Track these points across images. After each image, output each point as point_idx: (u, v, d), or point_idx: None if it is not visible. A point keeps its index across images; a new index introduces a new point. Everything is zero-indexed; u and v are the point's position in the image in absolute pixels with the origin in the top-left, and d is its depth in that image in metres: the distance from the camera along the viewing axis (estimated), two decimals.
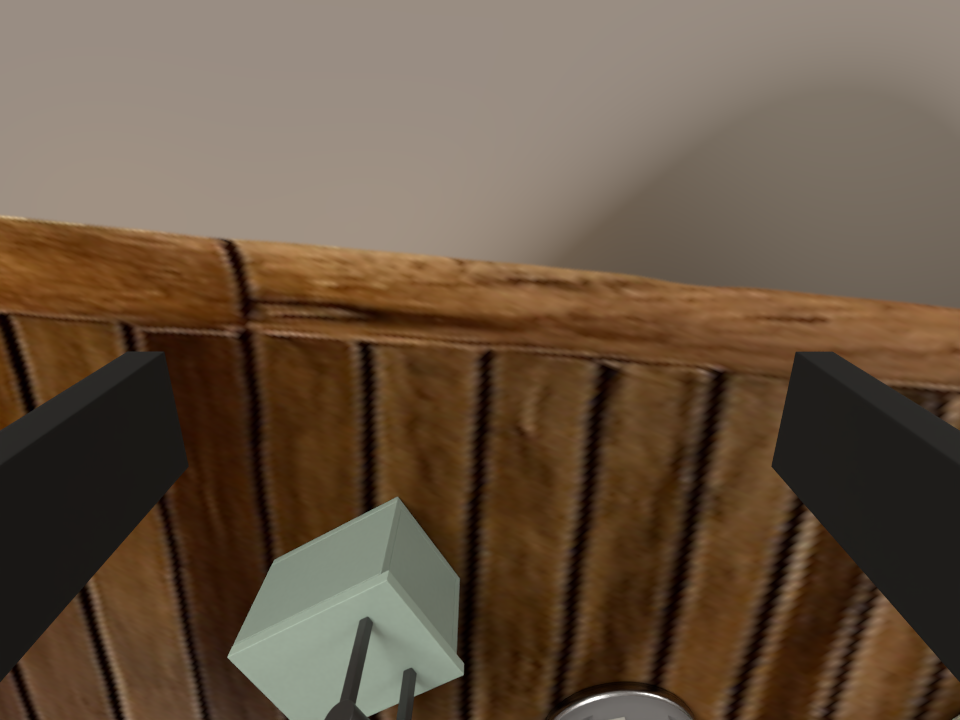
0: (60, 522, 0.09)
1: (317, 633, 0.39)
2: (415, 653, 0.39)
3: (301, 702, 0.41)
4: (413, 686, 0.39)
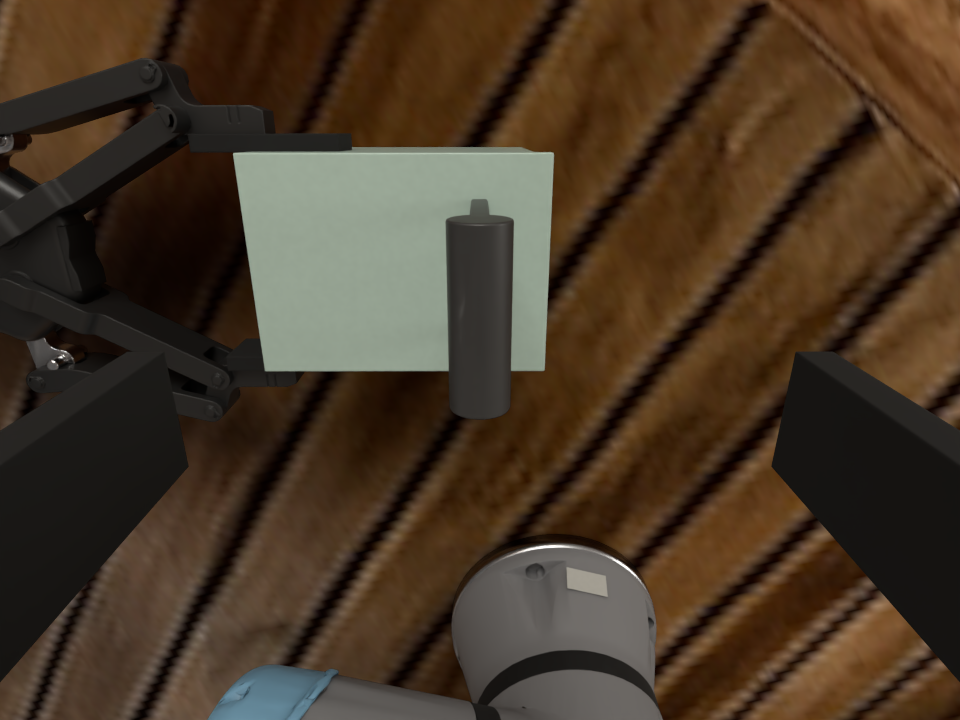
0: (59, 522, 0.09)
1: (397, 189, 0.24)
2: None
3: (294, 297, 0.26)
4: None
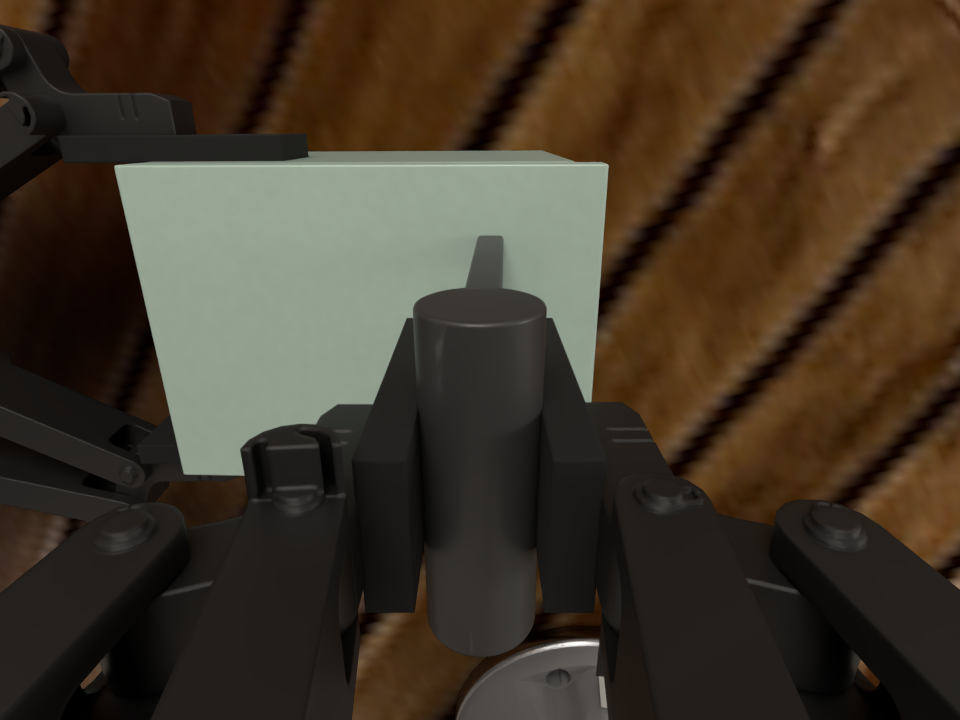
0: None
1: (364, 220, 0.16)
2: None
3: (218, 375, 0.18)
4: None
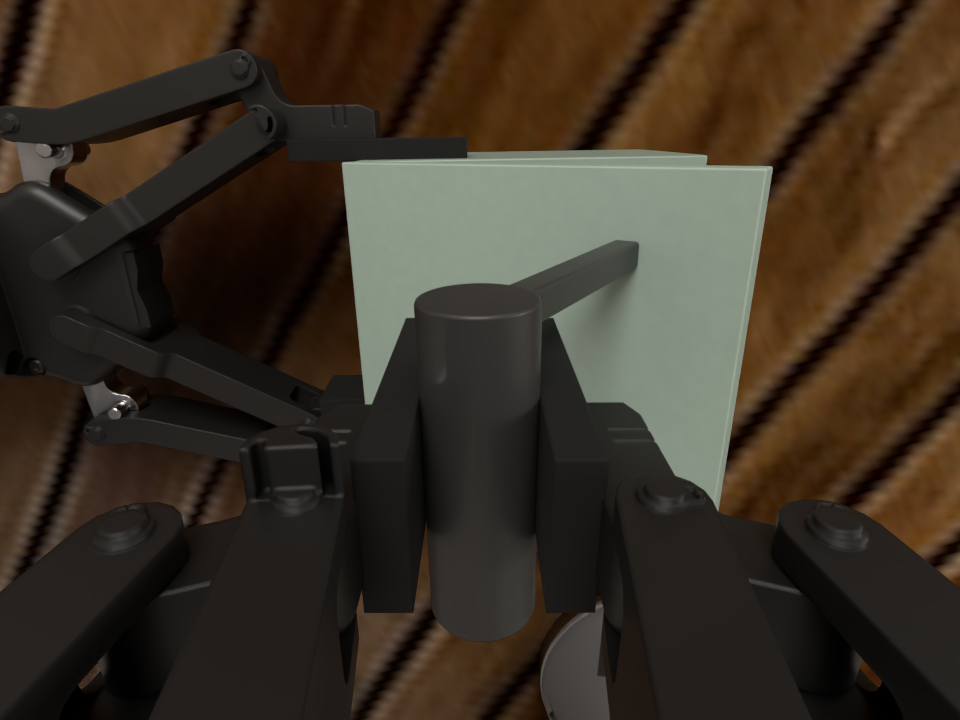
0: None
1: (512, 217, 0.17)
2: (657, 404, 0.16)
3: (394, 341, 0.21)
4: None
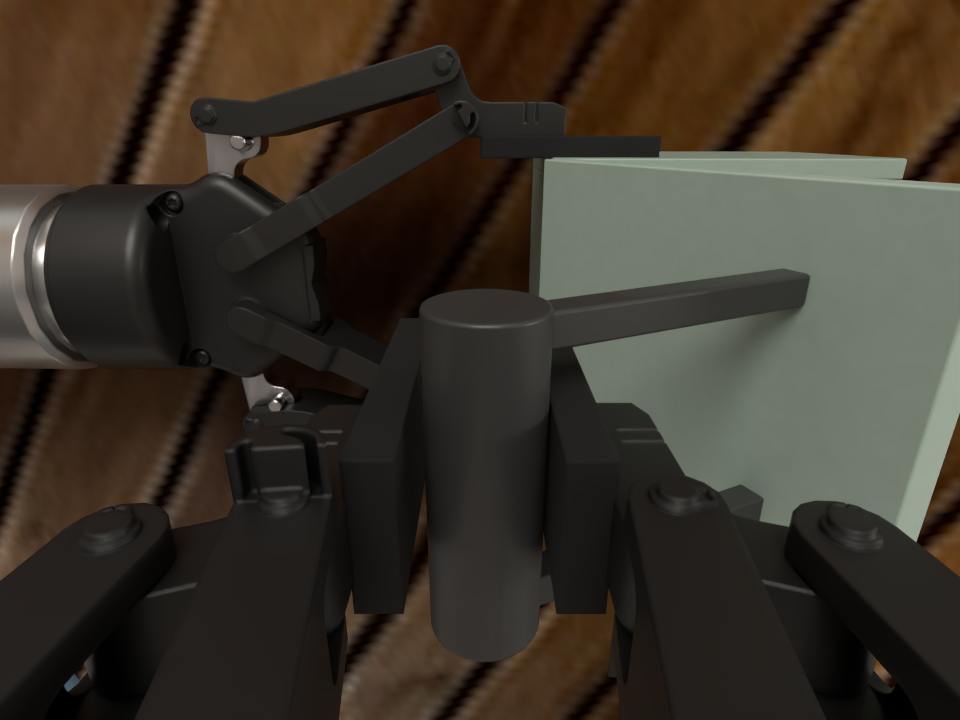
0: (417, 446, 0.11)
1: (679, 227, 0.15)
2: (806, 484, 0.12)
3: None
4: None
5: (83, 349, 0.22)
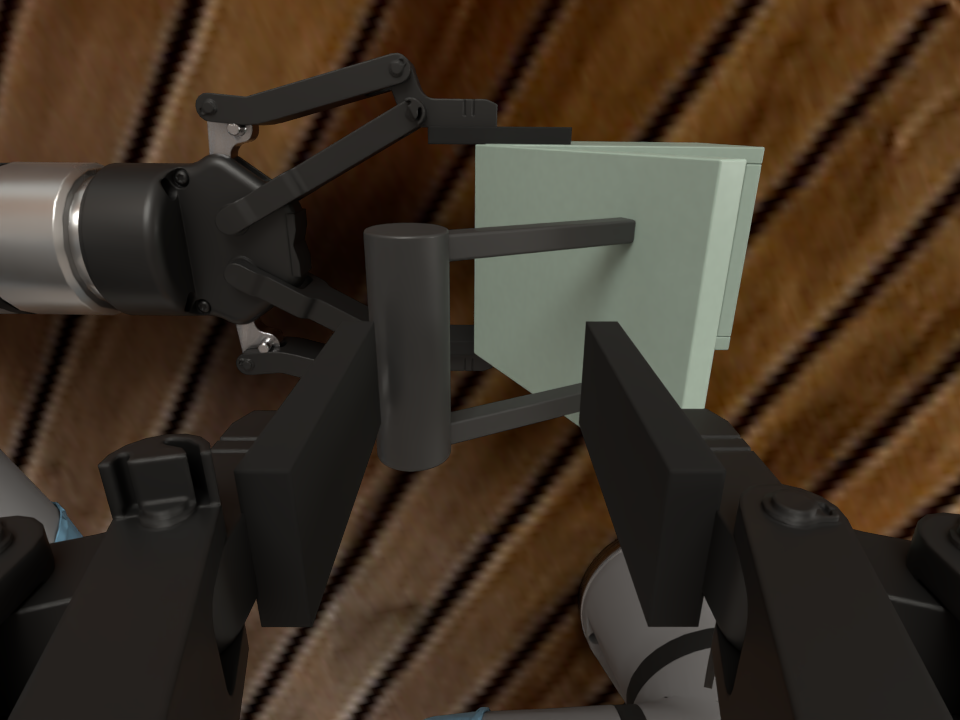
0: (345, 454, 0.11)
1: (563, 193, 0.20)
2: None
3: (492, 290, 0.26)
4: None
5: (108, 295, 0.27)
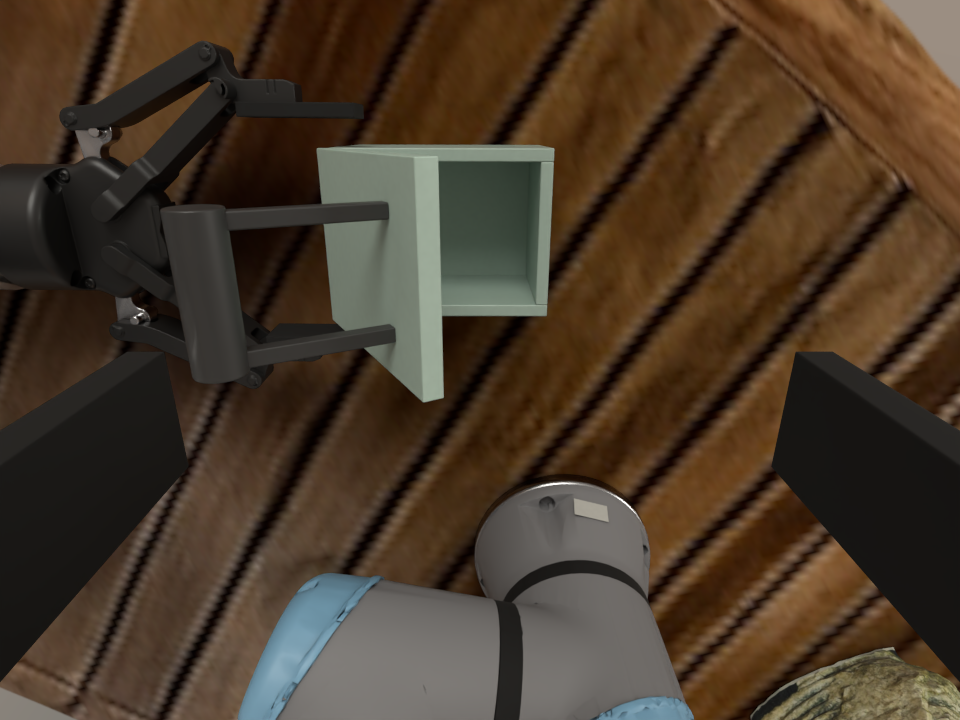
0: (60, 522, 0.09)
1: (357, 184, 0.26)
2: (402, 313, 0.24)
3: (335, 265, 0.32)
4: (370, 342, 0.25)
5: (3, 271, 0.33)
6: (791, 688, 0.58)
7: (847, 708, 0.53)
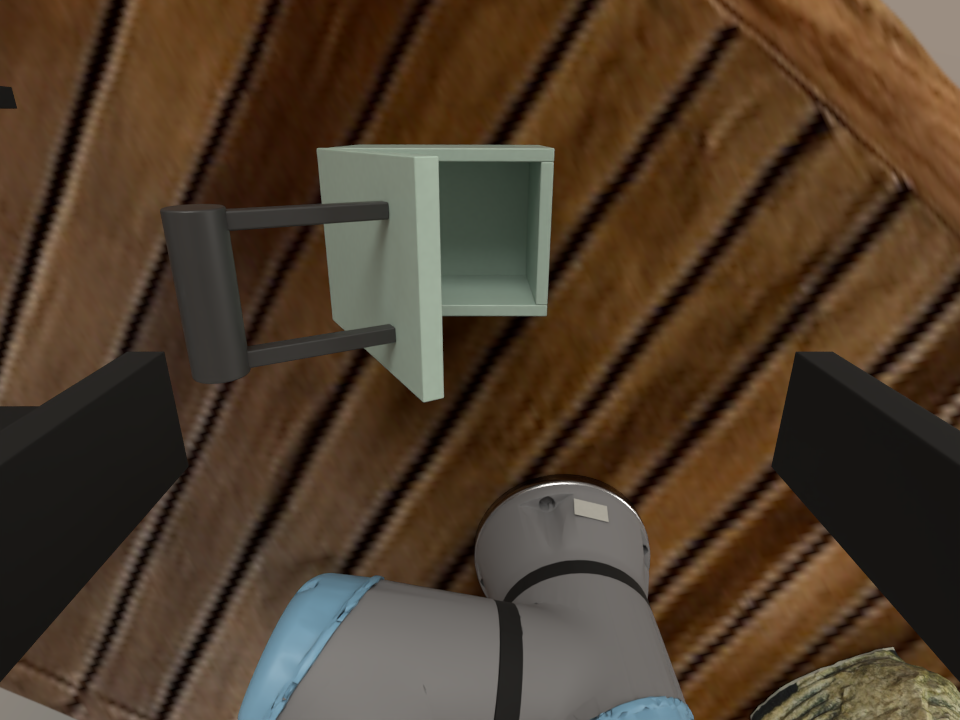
0: (60, 522, 0.09)
1: (357, 184, 0.26)
2: (402, 313, 0.24)
3: (335, 265, 0.32)
4: (370, 342, 0.25)
5: None
6: (791, 688, 0.58)
7: (847, 708, 0.53)
